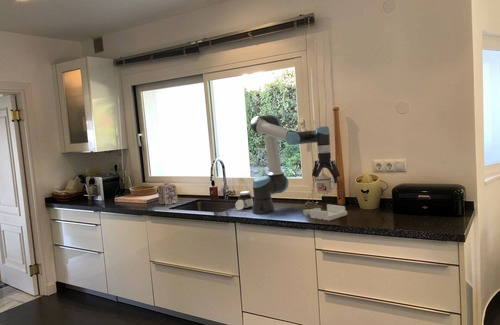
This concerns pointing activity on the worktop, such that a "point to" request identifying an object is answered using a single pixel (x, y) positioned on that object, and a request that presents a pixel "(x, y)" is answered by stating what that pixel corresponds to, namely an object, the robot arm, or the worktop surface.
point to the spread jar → (244, 201)
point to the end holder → (329, 212)
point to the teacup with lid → (324, 184)
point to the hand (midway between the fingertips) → (326, 188)
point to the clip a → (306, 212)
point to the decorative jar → (167, 193)
